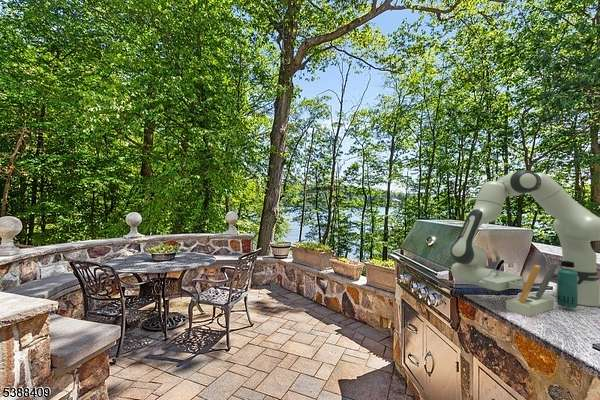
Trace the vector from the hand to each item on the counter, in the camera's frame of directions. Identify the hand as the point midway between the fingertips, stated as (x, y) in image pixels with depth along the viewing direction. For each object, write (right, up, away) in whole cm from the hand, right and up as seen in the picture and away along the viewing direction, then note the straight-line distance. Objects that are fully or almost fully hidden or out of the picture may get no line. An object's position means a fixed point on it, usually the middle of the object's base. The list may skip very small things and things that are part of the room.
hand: (525, 287), depth 114 cm
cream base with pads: (+5, -11, +4) cm, 13 cm away
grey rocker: (+12, -7, +8) cm, 15 cm away
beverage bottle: (+21, -11, +5) cm, 25 cm away
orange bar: (-1, -6, +1) cm, 7 cm away
